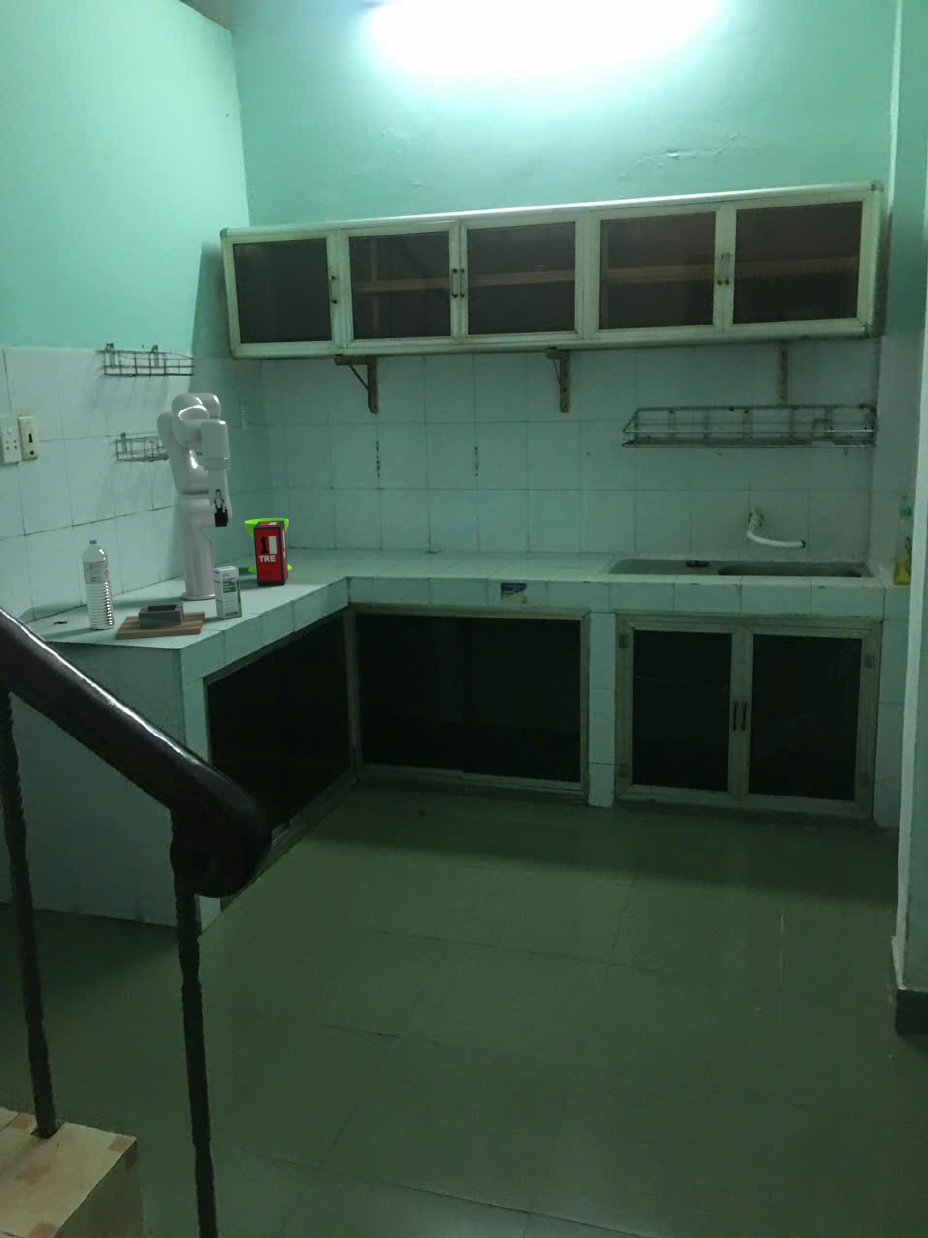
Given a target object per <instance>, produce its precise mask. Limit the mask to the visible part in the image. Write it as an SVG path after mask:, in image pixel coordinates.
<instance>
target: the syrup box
mask: <svg viewBox="0 0 928 1238" xmlns="http://www.w3.org/2000/svg"><path fill="white" fill-rule="evenodd" d="M212 570H213V581H214V591H215V598H214V599H215V600H214V601H215V608H216V610H215V611H216V616H217V617H218V618H220V617H221V618H220V619H223V620H226V619H232V618H238V617H239V618H240V617H242V616H243V610H242V608H243V607H242V599H241V598H242V597H241V587H240V577H239V576H240V575H239V568H238V567H237V566H234V565H232V566H231V565H230V566H223V567H216V568H215V567H214V568H213V569H212Z"/></svg>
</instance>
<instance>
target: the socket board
mask: <svg viewBox="0 0 928 1238" xmlns="http://www.w3.org/2000/svg"><path fill="white" fill-rule="evenodd" d="M205 619H206V611H204V610H203V611H189V612H188V611H187V612H184V603H183V602H182V603H181V602H179V603H164V604H163V603H162V604H147V605H142V606H141V608H140V610H139V612H138V615H130V616H129V615H128V616H126V617H125V619H124V621H123V623H122V624H121V625H120V627H119V629H117V632H116V634H115V637H116V640H125V639H127V640H128V639H137V638H138V639H140V638H141V639H142V638H154V637H155V638H156V637H169V636H170V637H171V636H182V635H186V636H187V635H197V634H198V635H200V634H199V633H201V634H202V630H203V626H204V623H203V622H205ZM201 629H202V630H201Z"/></svg>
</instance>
